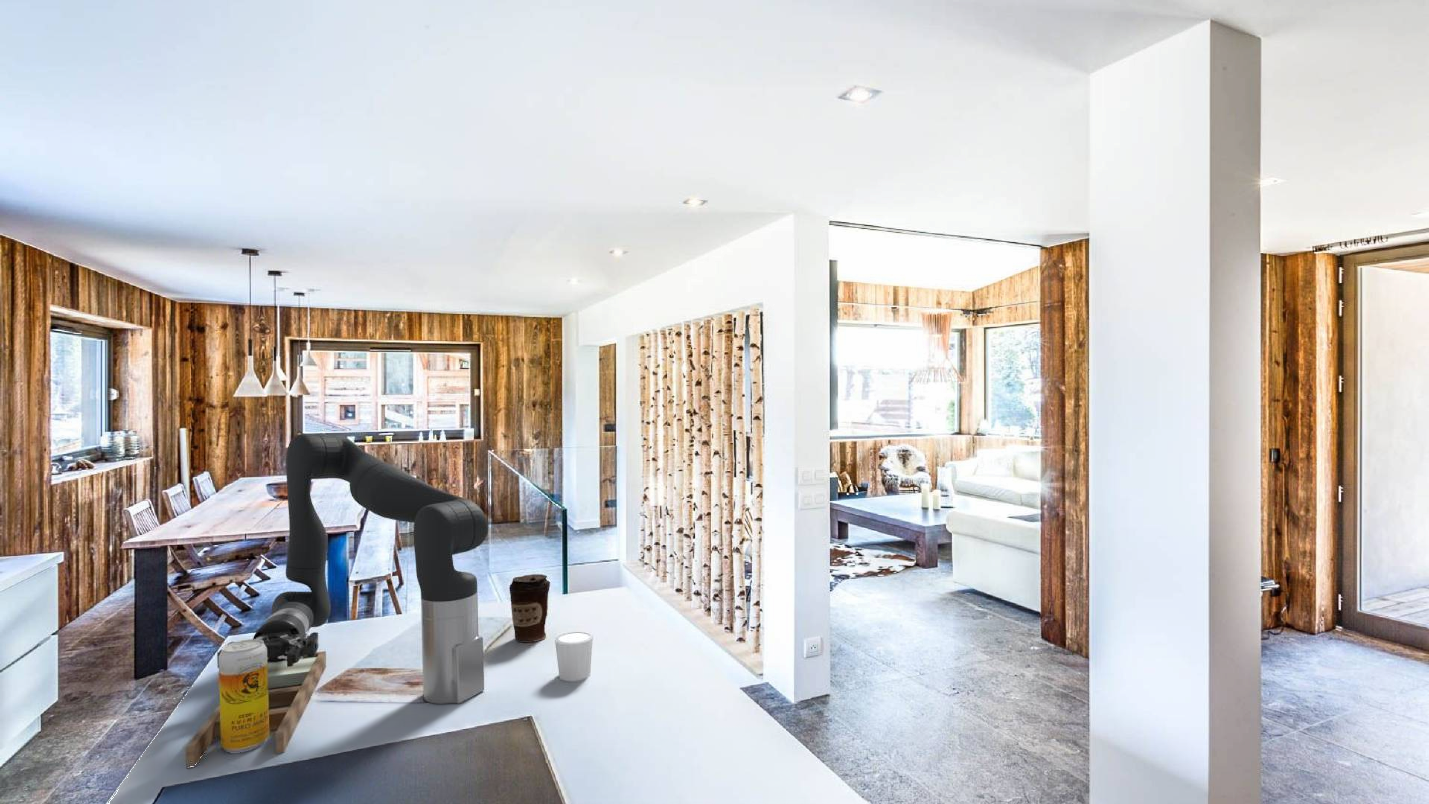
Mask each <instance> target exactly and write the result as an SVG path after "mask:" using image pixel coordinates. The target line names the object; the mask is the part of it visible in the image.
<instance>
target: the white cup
mask: <svg viewBox="0 0 1429 804" xmlns="http://www.w3.org/2000/svg"><path fill="white" fill-rule="evenodd" d="M593 638H594V636H593V634H592V633H589V632H586V631H572V632H571V631H570V632H566V633H565V632H564V633H562V634H560V635H558V636H556V637H555V639H554V642H555V644H554V645H555V650H556V659H557V660H556V661H557V668H558V670H557V671H558V677H559V679H560V680H561V681H565V682H579V681H582V680H585V679H588V678H589V677H590V676H591V669H592V656H593V655H592V654H593V653H592V652H593Z"/></svg>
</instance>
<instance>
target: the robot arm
mask: <svg viewBox="0 0 1429 804" xmlns="http://www.w3.org/2000/svg"><path fill="white" fill-rule="evenodd" d="M285 456H286V459H285V461H286V462H285V469H286V473H285V474H286V490H287V507H288V509H287V510H288V521H289V522H288V523H289V531H288V533H289V537H288V546H287V547H288V548H287V557H286V564H285V565H286V566H285V578H286V579H287V580H288V581H291V582H293V583H298V584H302V585H305V586H307V587H308V589H309V590H310V591H291V590H290V591H284V592H282V593H279V594H278V595H277V596H276V597H275V598H274V600H273V603H272V606H271V615H270V616H269V617H268V618H267V619H266V620H265V621H264V623H262V624H261V626H260V627H259V628H258V629H257V630H256V632H255V633H254V636H253V637H252V639H260V640H263V641H264V644H265V646H266V647H267V662H281V661H284V660H287V667H291V666H293V665H294V663H297V662H298V661H299V660H300V659H302V658H303V656H304V655H307V657H313V656H315V655H316V652H318V649H319V646H320V645H319V632H315V631H314V632H311V633H310V634H309V635H308V633H309V631H310V629H311V628H319V627H321V626H323V625H324V624H325V623H327V621H328V620H329V618H330V615H331V610H332V605H331V600H330V595H329V592H328V587H327V586H328V585H327V580H326V563H327V555H328V545H329V543H328V535H327V531H326V528H325V526H324V523H323V522H322V520H321V519H320V517H319V515H318V513H317V511H316V509H315V506H314V505H313V501H312V498H311V486H312V485H311V484H312V480H322V479H323V480H325V479H339V480H343V481H345V482H347V483H349V492H350V494H351V497H352V498H353V500H354V501H355V503H357V504H358V505H359V506H361V507H362V508H364V509H365V510H368V511H369V512H371V513H373V514H375V515H377V516H379V517H381V518H384V519H388V520H393V521H399V522H405V523H412V524H413V528H412V529H413V530H412V531H413V547H414V548H413V549H414V557H415V558H414V560H415V572H416V580H417V582H418V585H419V590H420V605H421V608H420V610H421V611H420V613H421V649H422V654H421V656H422V658H421V659H422V687H423V688H422V690H423V691H422V692H423V693H422V694H424V697H423V699H424V701H426V702H427V703H432V704H437V705H438V704H441V705H442V704H460V703H462V702H465V701H466V700H469V699H470V698H472V697H474V696H476V695H478V694H479V693H481V692H483V691H485V672H484V671H485V666H484V664H485V663H484V661H485V660H484V638H483V636H482V635H479V610H478V608H479V604H478V602H479V600H478V598H479V597H478V579H477V577H476V575H475V574H473V573H472V572H466V571H461V570H457V569H455V566H454V559H453V555H454V556H455V555H458V554H462V553H466V552H470V551H472V550H475V549H477V548H478V547H479V546H480V545H482V544H483V543H484V542H485V540H486V538H487V536H488V533H489V522H488V520H487V516H486V514H485V513H484V511H483V509H481V508H480V506H479V505H478V504H476V503H475V502H474V501H472V500H470V499H468V498H465V497H461V496H460V495H459V496H458V495H455V494H452V493H450V492H447V491H444V490H441V489H439V488H437V487H434V486H433V485H431V484H429V483H427V482H425V481H424V480H421V479H420V478H417V477H415V476H413V475H411V474H409V473H408V472H407V471H405V470H402V469H401V468H398V467H396V466H394V465H392V463H389V462H386V461H384V460H382V459H380V458H378V457H376V456H375V455H372V454H370V453H368V452H367V451H365V450H364V449H363V448H362V447H360V446H358V445H357V444H356V443H355V442H353V441H352V440H351V439H349V438H347V437H345V436H344V435H341V434H339V433H338V434H337V433H299V434H296V435H295V436H294V437H292V438H291V439H290V442H289V443H288V446H287V450H286V455H285ZM233 642H234V641H230V642H228V643H227V644H226V645H228V644H230V643H233ZM221 651H222V648H221V649H220V650H219V651H218V652H217V653H216V655H217V657H216V659H217V669H219V659H218V657H219V655H220V653H221Z"/></svg>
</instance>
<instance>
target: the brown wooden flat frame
mask: <svg viewBox="0 0 1429 804" xmlns="http://www.w3.org/2000/svg"><path fill="white" fill-rule="evenodd" d="M326 653H327V651H326V650H325V651H317V652H316V655H315V656H313V657H307V655H304V656H303V658H302V659H300V660H299V661H298V662H297V663H294V665H293V666H291V667H287V660H284V661H281V662H267V666H268V702H269V732H271V731H274V730H276V732H275V754H276V755H278V754H284V753H285V751H286V749H287V747H288V746H289V743H290V741H291V740H292V737H293V735H294V733H295V731H296V729H297V727H298V725H299V723H300V720H301V719H302V717H303V715H304V712H305V711H306V709H307V706H308V704H309V703H310V701H311V698H312V697H311V696H313V695H314V693H313V692H315V690H316V689H317V687H318V684H319V682H320V680H321V678H322V676H323V674H324V672H325V671H326V669H327V654H326ZM312 694H313V695H312ZM217 738H218V739H221V729H220V703H219V704H218V706H216V708H215V709H214V711H213V712H212V713H211V714H210V716H209V717H208V718H207V720H205V722H204V723H203V725H202V726H201V727H200V728H199V730H198V731H197V732H196V733H195V735H193V737H192V739H191V740H190V741H189V742H188V743H187V745H186V746H185V762H186V763H185V766H186V767H190V766H195V764H196V763H197V762H198V760H199V759H200V757H201V756H202V755H203V754H204V752H205V751H206V750H207V751H208V749H209V748H210V747H211V746H212V744H213V743H214V741H215V740H216V739H217ZM214 739H215V740H214ZM213 740H214V741H213ZM211 743H212V744H211ZM209 746H210V747H209ZM208 747H209V748H208ZM207 748H208V749H207ZM207 751H206V752H207ZM206 752H205V753H206ZM204 755H205V754H204ZM204 755H203V756H204ZM203 756H202V757H203ZM200 760H201V759H200ZM198 763H199V762H198ZM198 763H197V764H198ZM195 767H196V766H195Z"/></svg>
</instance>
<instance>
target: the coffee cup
mask: <svg viewBox="0 0 1429 804" xmlns="http://www.w3.org/2000/svg"><path fill="white" fill-rule="evenodd" d="M547 578H548V576H547V575H545V574H538V573H537V574H536V573H535V574H525V575H522V576H516V577H513V578H512V581H511V584H510V585H509V594H510V595H509V596H510V606H511V619H512V623H513V624H512V626H513V630H514V639H515V641H516V642H520V643H521V642H522V643H531V642H537V641H540V640H544V639H545V638H547V634H546V630H545V628H546V620H547V617H548V615H549V614H548V609H549V607H548V606H549V593H550V587H551V582H550V581H549V580H548V579H547Z"/></svg>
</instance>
